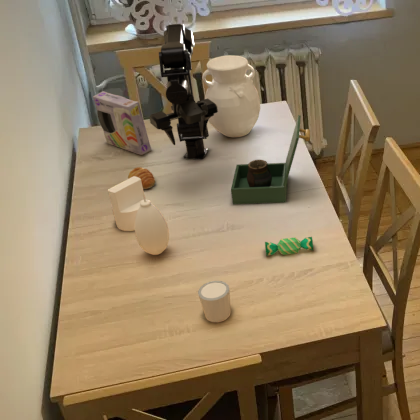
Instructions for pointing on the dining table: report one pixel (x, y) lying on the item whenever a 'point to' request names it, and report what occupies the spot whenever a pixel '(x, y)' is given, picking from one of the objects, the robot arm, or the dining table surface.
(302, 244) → the candy
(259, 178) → the mate gourd
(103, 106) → the cake pan box
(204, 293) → the white cylinder
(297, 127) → the green box lid
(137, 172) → the pastry
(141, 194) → the base with upright slab
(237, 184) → the green open box
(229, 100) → the cream handled vase
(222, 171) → the dining table surface
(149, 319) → the dining table surface
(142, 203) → the bulb air blower
